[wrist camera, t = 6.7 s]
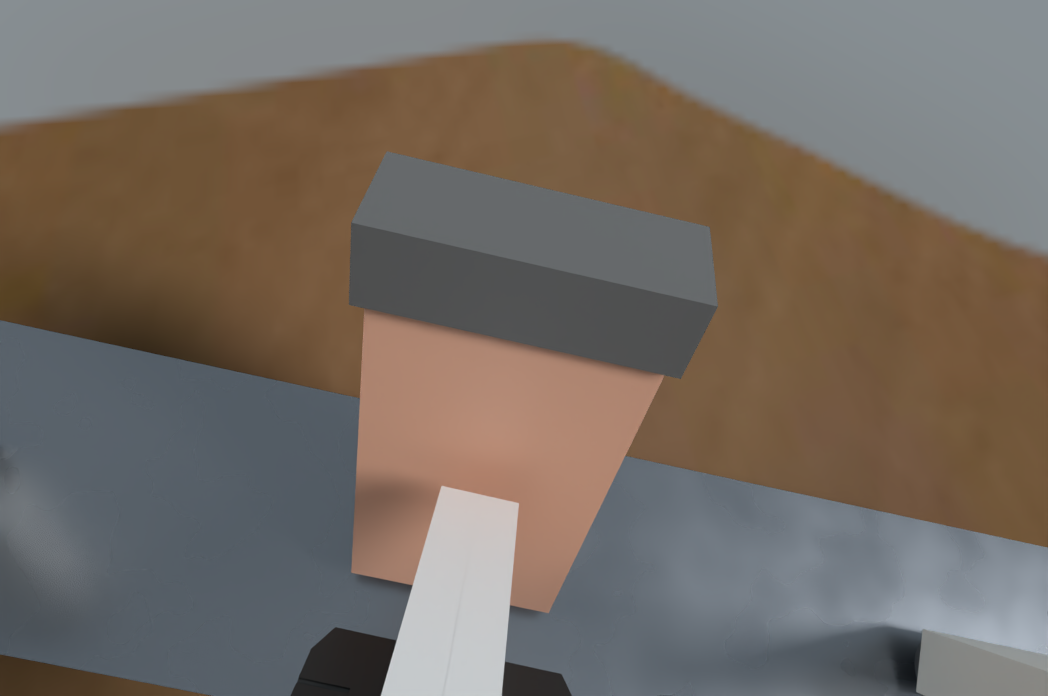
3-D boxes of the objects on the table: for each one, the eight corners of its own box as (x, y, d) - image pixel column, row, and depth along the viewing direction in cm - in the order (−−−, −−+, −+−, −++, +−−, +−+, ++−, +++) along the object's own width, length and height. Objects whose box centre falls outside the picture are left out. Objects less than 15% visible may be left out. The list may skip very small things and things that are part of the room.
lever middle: (553, 625, 18) (718, 306, 11) (341, 582, 18) (351, 222, 10) (560, 554, 20) (709, 227, 12) (363, 513, 20) (386, 151, 12)
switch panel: (1029, 848, 21) (1125, 874, 18) (-249, 598, 20) (-361, 584, 17) (1002, 567, 25) (1078, 552, 22) (-89, 332, 23) (-160, 283, 20)
